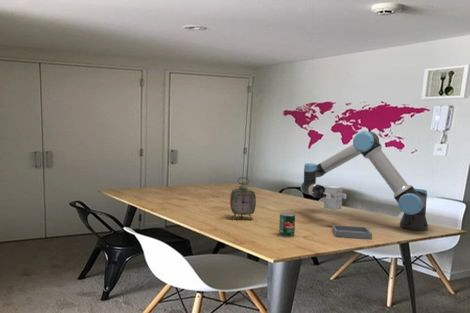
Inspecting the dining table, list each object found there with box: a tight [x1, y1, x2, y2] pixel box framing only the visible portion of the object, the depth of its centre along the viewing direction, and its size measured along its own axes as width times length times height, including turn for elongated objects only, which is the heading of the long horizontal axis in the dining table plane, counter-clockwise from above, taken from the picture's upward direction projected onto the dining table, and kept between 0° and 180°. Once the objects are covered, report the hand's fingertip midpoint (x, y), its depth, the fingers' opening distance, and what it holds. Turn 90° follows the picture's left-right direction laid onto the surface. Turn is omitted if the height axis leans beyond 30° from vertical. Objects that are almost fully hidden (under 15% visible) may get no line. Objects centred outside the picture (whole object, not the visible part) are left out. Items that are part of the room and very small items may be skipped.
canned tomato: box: [278, 212, 296, 238], centre depth 209 cm, size 8×8×11 cm
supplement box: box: [323, 185, 344, 211], centre depth 232 cm, size 7×7×13 cm
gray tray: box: [331, 224, 373, 240], centre depth 216 cm, size 18×14×3 cm
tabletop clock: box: [229, 176, 257, 221], centre depth 244 cm, size 14×9×25 cm, turn 95°
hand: (337, 196), depth 228 cm, fingers closed on supplement box, 9 cm apart
